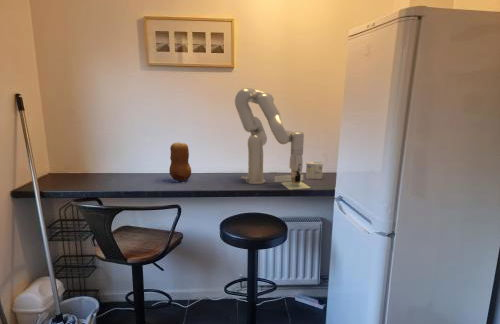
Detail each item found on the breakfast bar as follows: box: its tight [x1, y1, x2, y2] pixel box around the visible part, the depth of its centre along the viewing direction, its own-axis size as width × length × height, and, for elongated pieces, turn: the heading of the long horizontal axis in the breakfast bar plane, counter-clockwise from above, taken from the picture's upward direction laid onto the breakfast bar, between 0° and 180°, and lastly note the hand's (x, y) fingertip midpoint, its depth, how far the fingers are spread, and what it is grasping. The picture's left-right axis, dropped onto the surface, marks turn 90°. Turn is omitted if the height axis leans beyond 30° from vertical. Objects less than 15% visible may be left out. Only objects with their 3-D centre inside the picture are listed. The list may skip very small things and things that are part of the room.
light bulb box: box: [305, 161, 323, 180], centre depth 212 cm, size 11×7×11 cm, turn 84°
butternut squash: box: [168, 142, 192, 182], centre depth 200 cm, size 14×13×25 cm
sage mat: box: [280, 181, 311, 191], centre depth 194 cm, size 14×14×1 cm
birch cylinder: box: [290, 170, 301, 184], centre depth 193 cm, size 6×6×8 cm
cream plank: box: [274, 174, 304, 183], centre depth 204 cm, size 20×1×4 cm, turn 105°
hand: (295, 180), depth 193 cm, fingers closed on birch cylinder, 5 cm apart
